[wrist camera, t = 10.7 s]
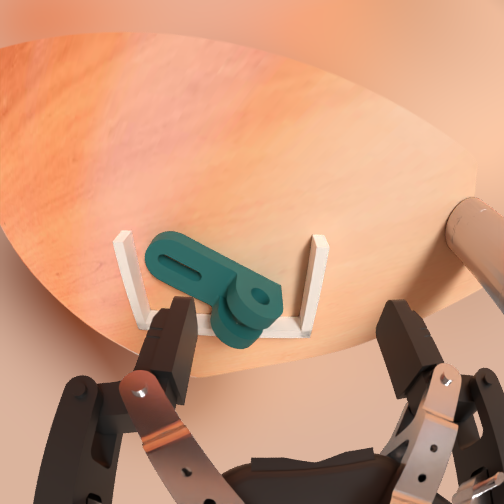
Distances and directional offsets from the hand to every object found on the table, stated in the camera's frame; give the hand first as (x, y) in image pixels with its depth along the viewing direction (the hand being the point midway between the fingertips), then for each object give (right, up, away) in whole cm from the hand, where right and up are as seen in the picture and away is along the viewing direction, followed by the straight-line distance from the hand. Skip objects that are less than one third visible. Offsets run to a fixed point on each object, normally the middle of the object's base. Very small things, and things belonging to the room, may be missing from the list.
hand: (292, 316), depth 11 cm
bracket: (-7, 0, +27) cm, 28 cm away
